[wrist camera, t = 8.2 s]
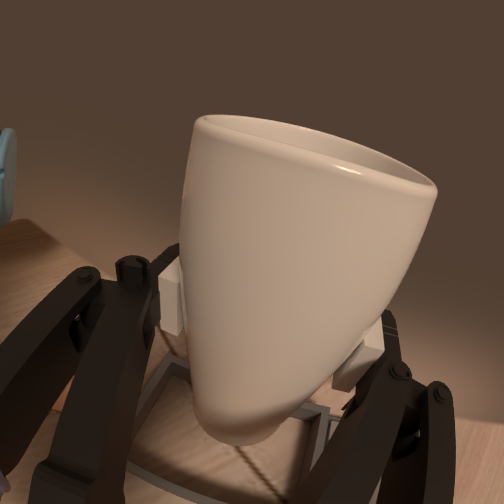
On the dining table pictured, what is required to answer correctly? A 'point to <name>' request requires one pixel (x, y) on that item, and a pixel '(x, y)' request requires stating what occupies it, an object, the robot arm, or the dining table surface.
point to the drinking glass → (285, 263)
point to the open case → (180, 368)
